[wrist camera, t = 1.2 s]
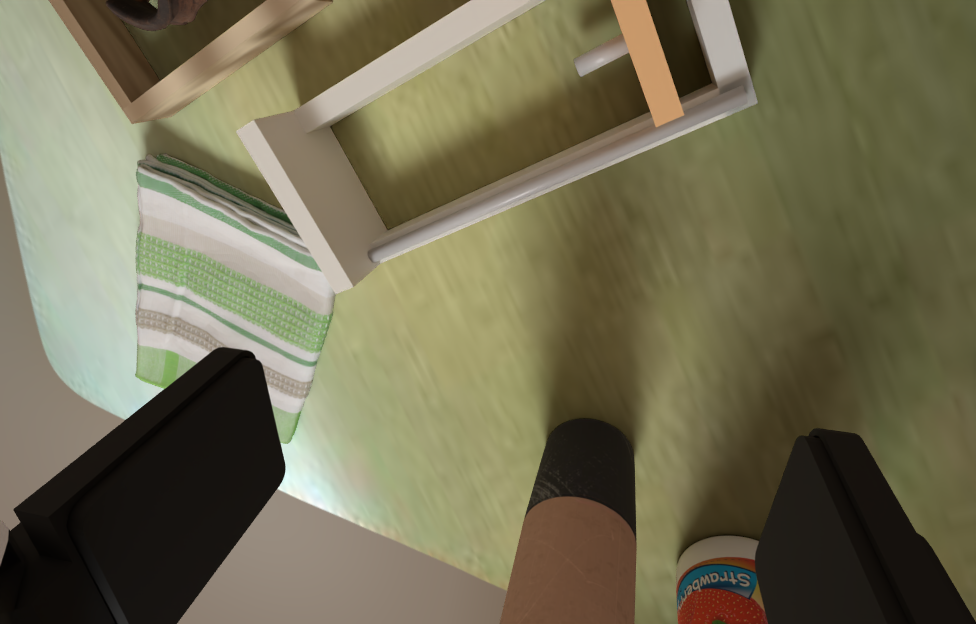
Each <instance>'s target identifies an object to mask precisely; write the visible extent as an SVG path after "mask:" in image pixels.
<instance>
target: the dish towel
mask: <svg viewBox="0 0 976 624" xmlns="http://www.w3.org/2000/svg"><path fill="white" fill-rule="evenodd" d="M137 164H138V168H137V172H136V178H137V182H138V193H137V197H138V206H139V212H140V225H139V229H138V233H137V240H136V271H137V281H138V290H137V303H136V313H135V314H136V325H137V334H138V344H137V371H136V374H135V376H136V377H137V378H139V379H140V380H142V381H144V382H147V383H150V384H152V385H155V386H158V387H161V388H164V389H165V388H167V387H168V386H169V385H170V384H172V383H173V382H174V381H175V380H177V379H178V378H179V377H180V376H182V375H183V374H184V373H185V372H187V371H188V370H189V369H190V368H192V367H193V366H194V365H195V364H197V363H198V362H199V361H200V360H202V359H203V358H204V357H205V356H207V355H208V354H209V353H211V352H212V351H213V350H215V349H216V348H218V347H227V348H235V349H242V350H248V351H251V352H252V353H253V354H254V355H255V357H256V359H257V360H259V361H260V362H261V363H262V365H263V369H264V373H265V378H266V382H267V387H268V391H269V395H270V400H271V404H272V409H273V413H274V417H275V422H276V426H277V431H278V435H279V439H280V442H281V443H285V444H288V443H289V442H290V441H291V439H292V436H293V435H294V432H295V430H296V427H297V424H298V420H299V417H300V414H301V410H302V408H303V405H304V402H305V399H306V397H307V396H308V393H309V391H310V388H311V385H312V381H313V376H314V372H315V369H316V364H317V360H318V358H319V355H320V352H321V350H322V346H323V344H324V340H325V338H326V334H327V331H328V328H329V324H330V322H331V318H332V316H333V306H334V300H335V292H334V291H333V289H332V287H331V286H330V284H329V283H328V281H327V279H326V278H325V276H324V274H323V273H322V271H321V269H320V268H319V266H318V265H317V263H316V261H315V260H314V258H313V256H312V255H311V253H310V252H309V250H308V248H307V247H306V245H305V243H304V242H303V240H302V238H301V237H300V235H299V234H298V232H297V230H296V229H295V227H294V225H293V224H292V222H291V221H290V219H289V217H288V216H287V214H286V212H285V211H284V210H282V209H279V208H277V207H275V206H273V205H271V204H268V203H267V202H265V201H263V200H261V199H259V198H257V197H253V196H251V195H249V194H247V193H245V192H243V191H242V190H240V189H238V188H235V187H233V186H231V185H229V184H227V183H225V182H223V181H221V180H219V179H217V178H215V177H213V176H212V175H210V174H209V173H207V172H206V171H204V170H201V169H199V168H196V167H194V166H191V165H189V164H187V163H185V162H183V161H180V160H178V159H176V158H172V157H170V156H169V155H168V154H166V153H165V154H164V155H162V154H158V155H157V158H155V157H153V156H152V155H150V154H148V155H147V156H146V160H140V161H138V162H137Z"/></svg>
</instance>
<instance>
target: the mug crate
mask: <svg viewBox="0 0 976 624" xmlns="http://www.w3.org/2000/svg"><path fill="white" fill-rule="evenodd" d="M49 1H50V3H51V4H52V6H53V7H54V9H55V10H56V12H57V13H58V15H59V16H60V18H61V19H62V21H63V22H64V24H65V25H66V27H67V28H68V30H69V31H70V33H71V34H72V36H73V37H74V39H75V40H76V42H77V43H78V45H79V46H80V47H81V49H82V50H83V52H84V53H85V55H86V56H87V58H88V59H89V61H90V62H91V64H92V65H93V67H94V68H95V70H96V71H97V73H98V74H99V76H100V77H101V79H102V80H103V82H104V83H105V85H106V86H107V88H108V89H109V91H110V92H111V94H112V95H113V97H114V98H115V99H116V101H117V102H118V104H119V105H120V107H121V108H122V110H123V111H124V113H125V114H126V116H127V117H128V119H129V120H130V122H131V123H132V124H134V123H140V122H145V121H151V120H157V119H162V118H168V117H171V116H173V115H174V114H176V113H177V112H179V111H180V110H181V109H183V108H184V107H186V106H187V105H188V104H190V103H191V102H193V101H194V100H195V99H197V98H198V97H200V96H201V95H203V94H204V93H205V92H207V91H208V90H210V89H211V88H212V87H214V86H215V85H217V84H218V83H219V82H221V81H222V80H224V79H225V78H227V77H228V76H229V75H231V74H232V73H234V72H235V71H236V70H238V69H239V68H241V67H242V66H243V65H245V64H246V63H248V62H249V61H251V60H252V59H253V58H255V57H256V56H258V55H259V54H260V53H262V52H263V51H265V50H266V49H267V48H269V47H270V46H272V45H273V44H275V43H276V42H277V41H279V40H280V39H282V38H283V37H284V36H286V35H287V34H289V33H290V32H291V31H293V30H294V29H296V28H297V27H299V26H300V25H301V24H303V23H304V22H306V21H307V20H308V19H310V18H311V17H313V16H314V15H316V14H317V13H318V12H320V11H321V10H323V9H324V8H325V7H327V6H328V5H330V4H331V3H332V2H333V1H332V0H266V1H265V2H263V3H262V4H261V5H260V6H258V7H257V8H256V9H254V10H253V11H252V12H250V13H249V14H248V15H246V16H245V17H244V18H242V19H241V20H240V21H239V22H237V23H236V24H235V25H233V26H232V27H231V28H229V29H228V30H227V31H225V32H224V33H223V34H221V35H220V36H219V37H217V38H216V39H215V40H214V41H212V42H211V43H210V44H208V45H207V46H206V47H204V48H203V49H202V50H200V51H199V52H198V53H196V54H195V55H194V56H193V57H191V58H190V59H189V60H187V61H186V62H185V63H183V64H182V65H181V66H179V67H178V68H177V69H175V70H174V71H173V72H171V73H170V74H169V75H168V76H166V77H165V78H164V79H162V80H161V81H160V80H159V78H158V77H157V75H156V74H155V72H154V70H153V69H152V67H151V66H150V64H149V63H148V61H147V60H146V58H145V56H144V55H143V53H142V52H141V50H140V49H139V47H138V45H137V44H136V42H135V41H134V39H133V38H132V36H131V35H130V33H129V31H128V30H127V28H126V27H125V25H124V24H123V22H122V20H121V19H120V18H118V17H117V16H116V15H114V14H113V12H112V11H111V10H110V9H109V8H108V7H107V6H106V1H108V0H49Z"/></svg>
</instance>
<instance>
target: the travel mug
mask: <svg viewBox="0 0 976 624" xmlns="http://www.w3.org/2000/svg"><path fill="white" fill-rule="evenodd" d="M635 581H636V504H635V464H634V453H633V449H632V446H631V444H630V442H629V441H628V439H627V438H626V437H625V436H624V434H623V433H622V432H620V431H619V430H618V429H616V428H615V427H613V426H612V425H610V424H608V423H605V422H602V421H599V420H594V419H575V420H571V421H567V422H565V423H563V424H561V425H560V426H558V427H557V428H556V429H555V430H554V431H553V432H552V433H551V435H550V436H549V438H548V441H547V443H546V446H545V449H544V453H543V456H542V459H541V463H540V466H539V470H538V473H537V477H536V480H535V484H534V487H533V491H532V494H531V497H530V501H529V504H528V508H527V511H526V515H525V519H524V522H523V526H522V531H521V535H520V539H519V543H518V548H517V552H516V556H515V560H514V565H513V569H512V573H511V577H510V582H509V586H508V590H507V594H506V599H505V603H504V608H503V612H502V616H501V620H500V624H634V616H635Z"/></svg>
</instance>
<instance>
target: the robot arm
mask: <svg viewBox="0 0 976 624" xmlns="http://www.w3.org/2000/svg"><path fill="white" fill-rule="evenodd" d="M284 475H285V461H284V457H283V453H282V448H281V444H280V439H279V435H278V431H277V426H276V422H275V417H274V413H273V409H272V404H271V400H270V395H269V391H268V387H267V382H266V378H265V373H264V369H263V365H262V363H261V362H260V361H259V360H257V359H256V357H255V355H254V354H253V353H252V352H251V351H248V350H242V349H235V348H227V347H218V348H216V349H215V350H213V351H212V352H211V353H209V354H208V355H207V356H205V357H204V358H203V359H202V360H200V361H199V362H198V363H197V364H195V365H194V366H193V367H192V368H190V369H189V370H188V371H187V372H185V373H184V374H183V375H182V376H180V377H179V378H178V379H177V380H175V381H174V382H173V383H172V384H170V385H169V386H168V387H167V388H165V389H164V390H163V391H161V392H160V393H159V394H158V395H156V396H155V397H154V398H153V399H151V400H150V401H149V402H148V403H146V404H145V405H144V406H143V407H141V408H140V409H139V410H138V411H136V412H135V413H134V414H133V415H131V416H130V417H129V418H128V419H126V420H125V421H124V422H123V423H121V424H120V425H119V426H118V427H116V428H115V429H114V430H112V431H111V432H110V433H109V434H107V435H106V436H105V437H104V438H102V439H101V440H100V441H99V442H97V443H96V444H95V445H94V446H92V447H91V448H90V449H89V450H87V451H86V452H85V453H84V454H82V455H81V456H80V457H79V458H77V459H76V460H75V461H74V462H72V463H71V464H70V465H68V466H67V467H66V468H65V469H63V470H62V471H61V472H60V473H58V474H57V475H56V476H55V477H53V478H52V479H51V480H50V481H48V482H47V483H46V484H45V485H43V486H42V487H41V488H40V489H38V490H37V491H36V492H35V493H33V494H32V495H31V496H29V497H28V498H27V499H26V500H25V501H23V502H22V503H21V504H20V505H18V506H17V507H16V508H14V512H15V513H16V515H17V517H18V519H19V520H20V523H19V524H18V525H17V526H16V527H15V528H13V529H12V530H11V531H10V530H9V529H8V527H7V526H6V525H5V524H4V522H3V521H0V624H177V623H178V621H179V620H180V619H181V617H182V616H183V615H184V613H185V612H186V611H187V609H188V608H189V607H190V605H191V604H192V603H193V601H194V600H195V598H196V597H197V596H198V595H199V593H200V592H201V591H202V589H203V588H204V586H205V585H206V584H207V582H208V581H209V580H210V578H211V577H212V576H213V574H214V573H215V572H216V570H217V569H218V567H219V566H220V565H221V564H222V562H223V561H224V560H225V558H226V557H227V555H228V554H229V553H230V552H231V550H232V549H233V548H234V546H235V545H236V543H237V542H238V541H239V539H240V538H241V537H242V535H243V534H244V533H245V531H246V530H247V529H248V527H249V526H250V525H251V523H252V522H253V521H254V519H255V518H256V516H257V515H258V514H259V512H260V511H261V510H262V508H263V507H264V506H265V504H266V503H267V502H268V500H269V499H270V498H271V496H272V495H273V494H274V492H275V491H276V490H277V488H278V487H279V486H280V484H281V482H282V480H283V478H284ZM755 571H756V576H757V580H758V585H759V589H760V593H761V597H762V601H763V605H764V609H765V614H766V618H767V622H768V624H976V622H975V620H974V618H973V617H972V615H971V613H970V611H969V610H968V608H967V606H966V605H965V603H964V601H963V600H962V598H961V596H960V595H959V593H958V591H957V589H956V588H955V586H954V584H953V583H952V581H951V579H950V578H949V576H948V574H947V573H946V571H945V569H944V567H943V566H942V564H941V562H940V561H939V559H938V557H937V556H936V554H935V552H934V550H933V549H932V547H931V546H930V545H929V543H928V542H927V541H926V540H925V538H924V537H922V536H921V535H919V534H918V533H916V531H915V529H914V528H913V526H912V524H911V523H910V521H909V519H908V517H907V516H906V514H905V512H904V510H903V509H902V507H901V505H900V503H899V502H898V500H897V498H896V497H895V495H894V493H893V491H892V490H891V488H890V486H889V484H888V483H887V481H886V479H885V477H884V476H883V474H882V472H881V471H880V469H879V467H878V465H877V464H876V462H875V460H874V458H873V457H872V455H871V453H870V451H869V450H868V448H867V446H866V445H865V443H864V441H863V440H862V438H861V437H860V436H859V435H857V434H855V433H848V432H841V431H833V430H826V429H819V428H816V429H813V430H812V431H811V432H810V434H809V436H799V437H798V438H797V439H796V441H795V444H794V446H793V449H792V452H791V455H790V458H789V460H788V463H787V466H786V469H785V471H784V474H783V477H782V480H781V482H780V485H779V488H778V491H777V493H776V496H775V499H774V502H773V504H772V507H771V510H770V513H769V516H768V518H767V521H766V524H765V527H764V529H763V532H762V535H761V538H760V540H759V543H758V546H757V549H756V553H755Z"/></svg>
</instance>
